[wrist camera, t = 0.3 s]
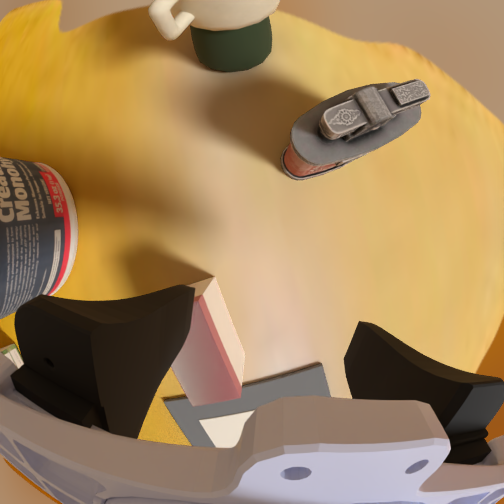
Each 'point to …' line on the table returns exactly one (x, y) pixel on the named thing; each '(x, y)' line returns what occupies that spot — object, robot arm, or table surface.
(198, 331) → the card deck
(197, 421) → the mat
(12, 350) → the syrup box
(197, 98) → the table surface
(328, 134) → the lighter
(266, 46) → the character mug
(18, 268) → the supplement tub
